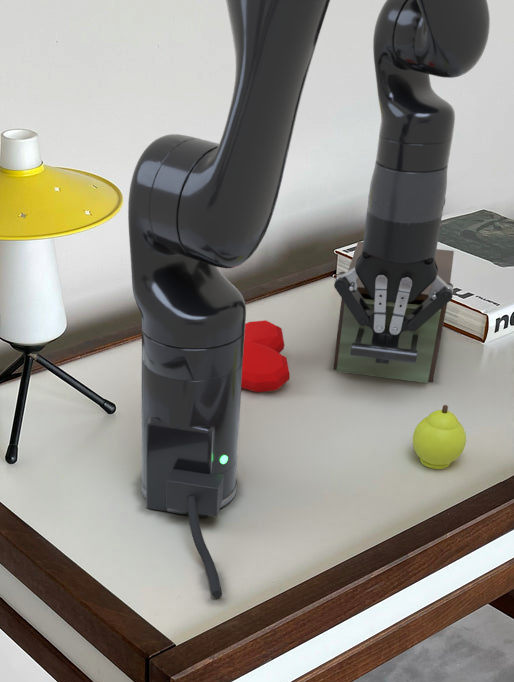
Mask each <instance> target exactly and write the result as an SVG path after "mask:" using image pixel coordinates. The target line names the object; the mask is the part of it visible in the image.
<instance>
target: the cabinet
mask: <svg viewBox="0 0 514 682" xmlns="http://www.w3.org/2000/svg"><path fill="white" fill-rule="evenodd" d="M362 247H363V241H357V244H356V246H355V249H354V252H353V255H352V258H351V261H350V264H349V267H348V270H347V271H349V270H351V269H353V268H354V267H355V265H356V262H357V259H358V258H359V257H360V255H361V253H362ZM454 254H455V250H448V249H440V248H437V249H436V255H435V262H436V265H437V267H438V272H437V275H438V276H439V277H440V278H441V279H442V280H443V281H444V282H445V283H447V282H449V283H451V281H452V271H453V264H454V263H453V262H454ZM357 279H358V282H359V284H358V288H357V290H358V291H359V293H360V294H367V295H369V294H368V292H367V290H366V289H365V287H364V285H363V284H362V282H361V280H360V279H359V277H358V278H357ZM431 287H432V286H431V284H430V285H429V286H428V287H427V288H426V289H425V290H424V291H423V292H422V293H421V294H420V295H419V296H418V297H417V298H416V299H415V300H423V301H425V300H426V299H427V298H428V297H429V290H430V288H431ZM344 305H345V302H344V301H343V299H342V298H341V299H340V309H339V317H338V324H337V334H336V341H335V349H334V360H333V367H332V369H333V370H336V371H337V364H338V355H339V347H340V339H341V330H342V322H343V314H344ZM447 307H448V303H447V304H446V305H445V306H443V307H442V308H441V312H440V317H439V323H438V329H437V334H436V340H435V345H434V351H433V356H432V362H431V368H430V373H429V379H428V383H429V382H430V383H434V378H435V373H436V368H437V363H438V357H439V352H440V347H441V346H440V345H441V340H442V336H443V330H444V323H445V319H446V314H447V313H446V312H447Z"/></svg>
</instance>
